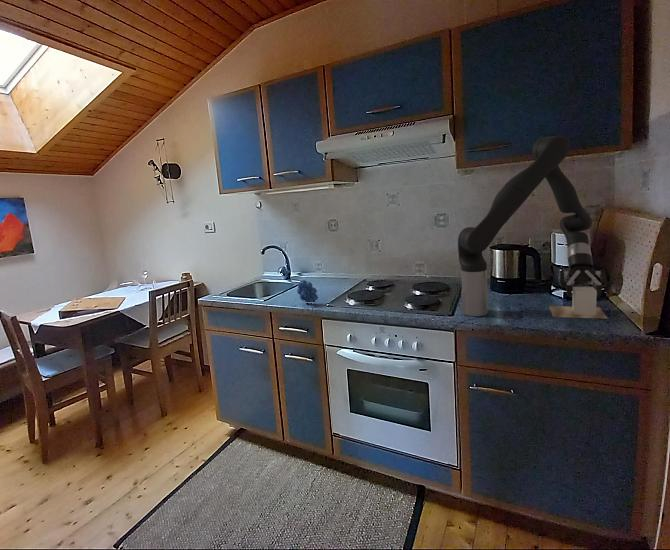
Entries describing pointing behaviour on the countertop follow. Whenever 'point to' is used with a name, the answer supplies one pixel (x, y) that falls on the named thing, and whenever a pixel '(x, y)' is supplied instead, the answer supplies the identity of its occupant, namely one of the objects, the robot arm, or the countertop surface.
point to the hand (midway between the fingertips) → (584, 296)
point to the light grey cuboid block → (584, 300)
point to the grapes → (307, 291)
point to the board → (568, 312)
